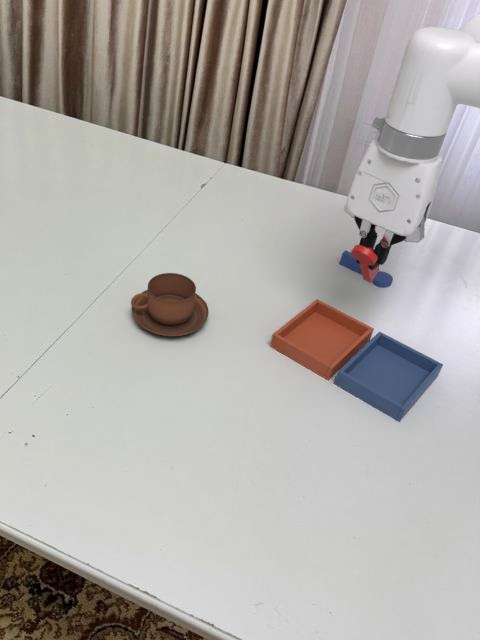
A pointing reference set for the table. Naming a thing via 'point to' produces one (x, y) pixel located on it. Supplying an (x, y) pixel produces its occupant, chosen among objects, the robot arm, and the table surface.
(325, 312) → the terracotta tray
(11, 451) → the table surface
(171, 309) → the cup and saucer
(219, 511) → the table surface
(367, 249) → the red spoon
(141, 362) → the table surface
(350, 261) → the blue spoon
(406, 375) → the slate tray
